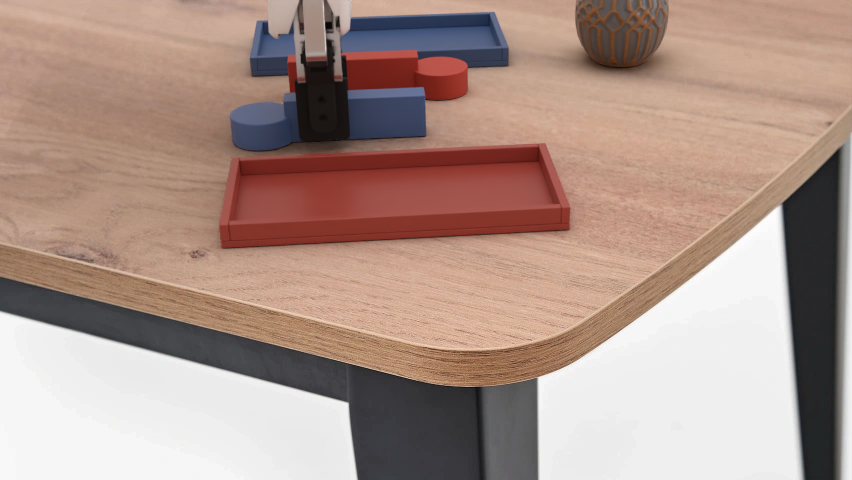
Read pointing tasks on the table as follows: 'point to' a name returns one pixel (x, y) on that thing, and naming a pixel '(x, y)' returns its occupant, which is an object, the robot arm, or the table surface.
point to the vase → (621, 29)
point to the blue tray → (398, 39)
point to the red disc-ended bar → (400, 73)
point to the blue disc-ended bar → (367, 116)
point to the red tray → (391, 195)
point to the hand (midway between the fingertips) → (325, 124)
